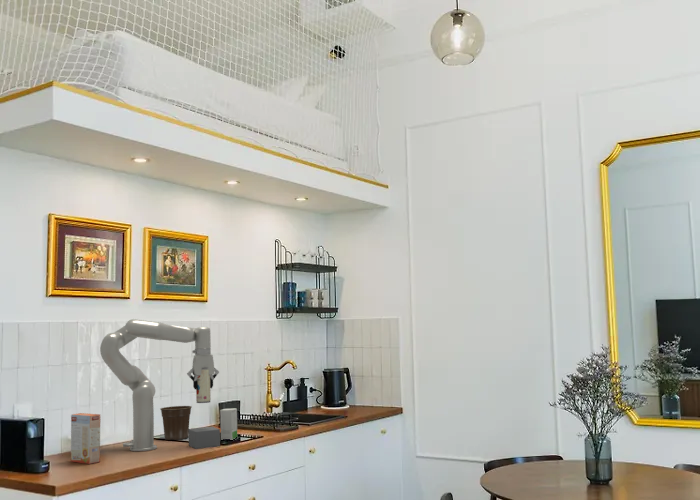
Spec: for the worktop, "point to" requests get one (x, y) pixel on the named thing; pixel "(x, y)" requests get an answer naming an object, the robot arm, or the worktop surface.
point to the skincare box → (228, 423)
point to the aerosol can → (203, 387)
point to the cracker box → (85, 438)
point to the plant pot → (176, 422)
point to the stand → (204, 437)
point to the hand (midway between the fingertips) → (203, 388)
